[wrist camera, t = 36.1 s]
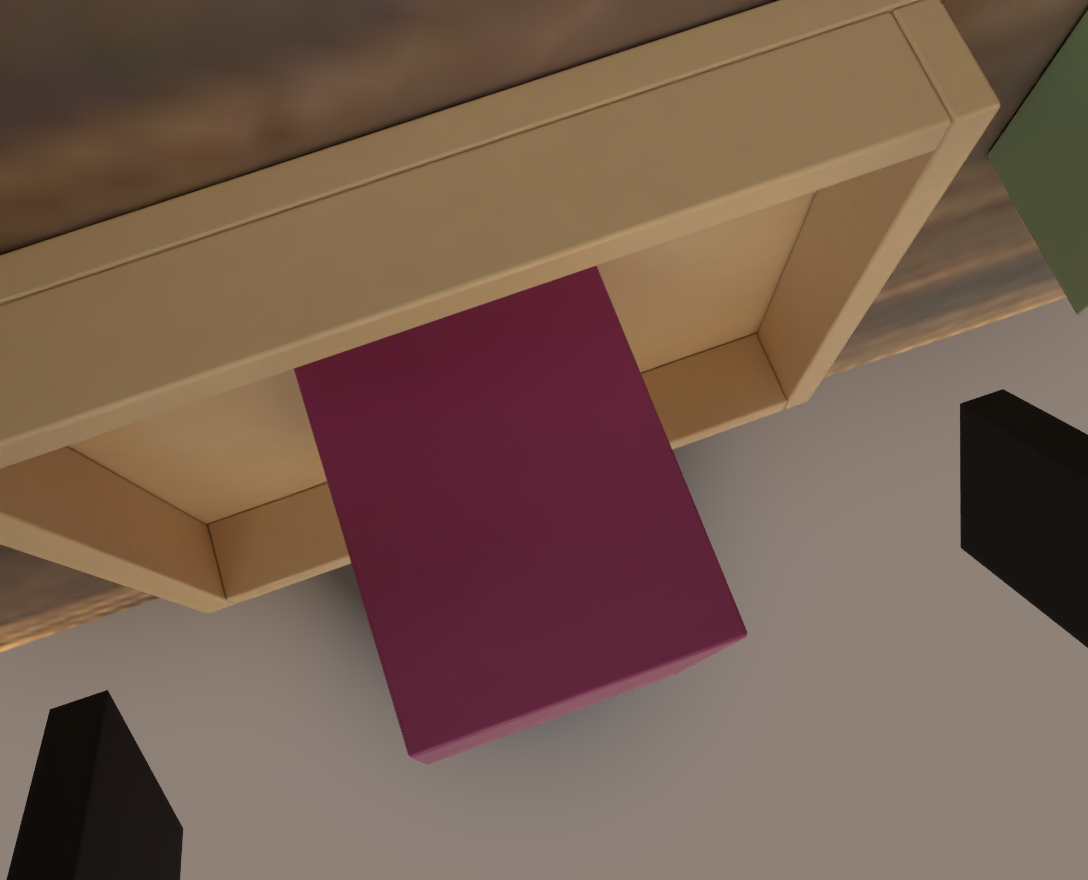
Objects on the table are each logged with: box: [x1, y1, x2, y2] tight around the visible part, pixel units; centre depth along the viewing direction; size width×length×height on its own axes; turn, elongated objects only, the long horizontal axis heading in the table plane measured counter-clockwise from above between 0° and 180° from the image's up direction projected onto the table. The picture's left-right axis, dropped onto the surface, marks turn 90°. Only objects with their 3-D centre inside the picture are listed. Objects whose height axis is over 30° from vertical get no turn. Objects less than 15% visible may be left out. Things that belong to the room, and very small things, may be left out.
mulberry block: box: [294, 265, 747, 764], centre depth 20 cm, size 6×6×8 cm
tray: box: [0, 0, 1000, 613], centre depth 21 cm, size 18×14×3 cm
